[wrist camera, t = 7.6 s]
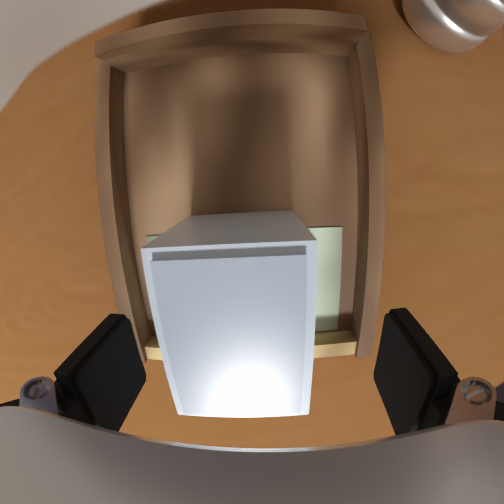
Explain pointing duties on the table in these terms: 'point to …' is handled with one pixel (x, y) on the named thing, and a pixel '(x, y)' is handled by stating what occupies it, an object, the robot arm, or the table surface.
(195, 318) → the grey block
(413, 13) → the plastic bottle
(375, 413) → the table surface
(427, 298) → the table surface
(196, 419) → the table surface
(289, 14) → the bay
